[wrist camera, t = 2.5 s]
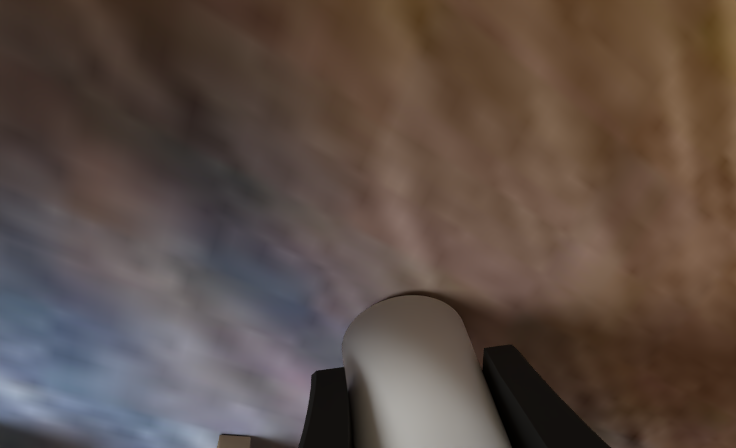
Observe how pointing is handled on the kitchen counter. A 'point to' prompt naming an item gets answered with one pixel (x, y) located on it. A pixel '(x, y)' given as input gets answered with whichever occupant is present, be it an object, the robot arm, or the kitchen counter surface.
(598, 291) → the kitchen counter surface
